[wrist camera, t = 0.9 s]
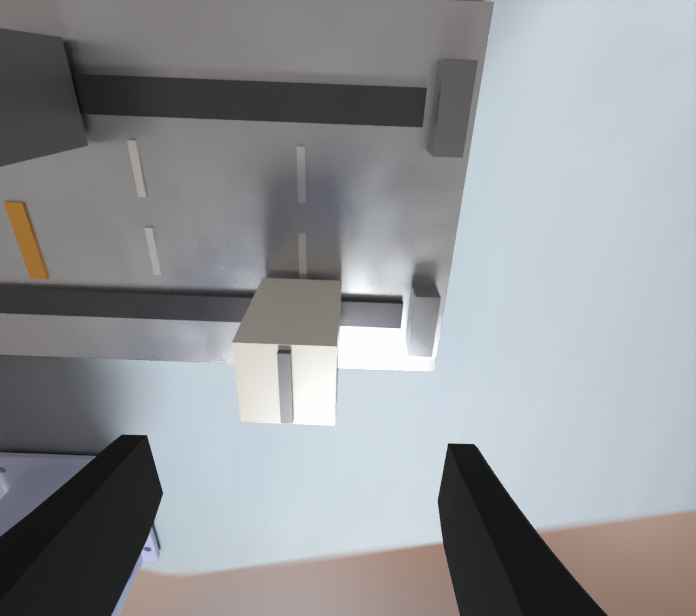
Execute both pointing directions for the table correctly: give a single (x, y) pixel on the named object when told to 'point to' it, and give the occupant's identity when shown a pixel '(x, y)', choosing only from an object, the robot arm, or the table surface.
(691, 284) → the table surface
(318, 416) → the block
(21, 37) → the fader charcoal
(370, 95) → the console
